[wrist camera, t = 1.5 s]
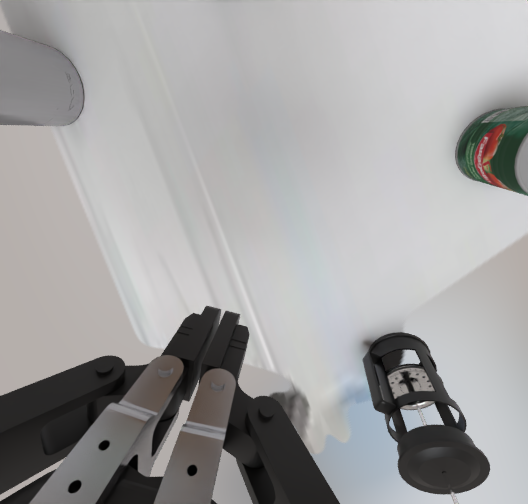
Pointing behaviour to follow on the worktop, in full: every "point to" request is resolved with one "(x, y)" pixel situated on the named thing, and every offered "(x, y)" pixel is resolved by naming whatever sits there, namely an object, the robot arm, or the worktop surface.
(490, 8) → the worktop surface
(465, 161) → the canned tomato
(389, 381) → the french press
